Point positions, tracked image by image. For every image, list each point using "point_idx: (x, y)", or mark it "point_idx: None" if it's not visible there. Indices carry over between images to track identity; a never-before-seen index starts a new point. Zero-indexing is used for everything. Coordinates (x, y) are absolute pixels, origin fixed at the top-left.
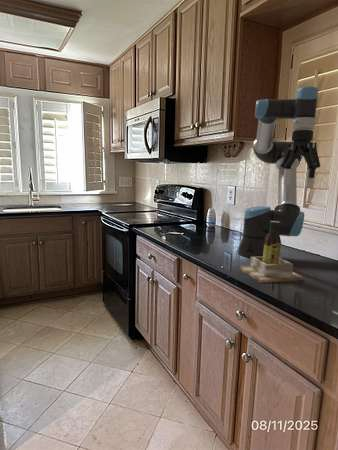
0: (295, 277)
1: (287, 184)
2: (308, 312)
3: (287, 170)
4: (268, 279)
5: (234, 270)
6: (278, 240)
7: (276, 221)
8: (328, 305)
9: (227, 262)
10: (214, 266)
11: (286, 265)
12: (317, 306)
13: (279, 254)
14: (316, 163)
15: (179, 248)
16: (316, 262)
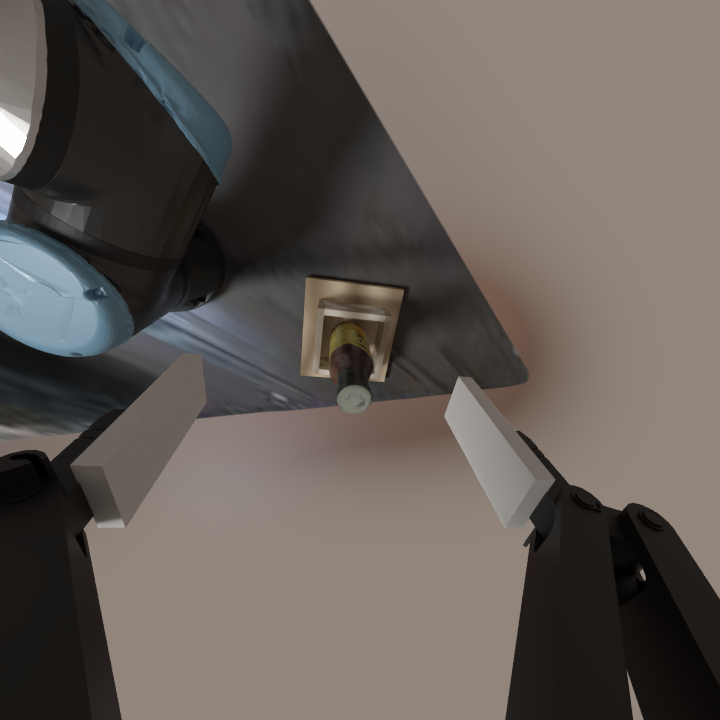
0: (399, 309)
1: (201, 375)
2: (497, 384)
3: (130, 490)
4: (386, 367)
5: (307, 385)
6: (372, 370)
7: (352, 395)
8: (501, 340)
9: (249, 372)
10: (274, 408)
11: (388, 332)
12: (493, 359)
13: (367, 344)
14: (642, 560)
15: None
16: (287, 83)
